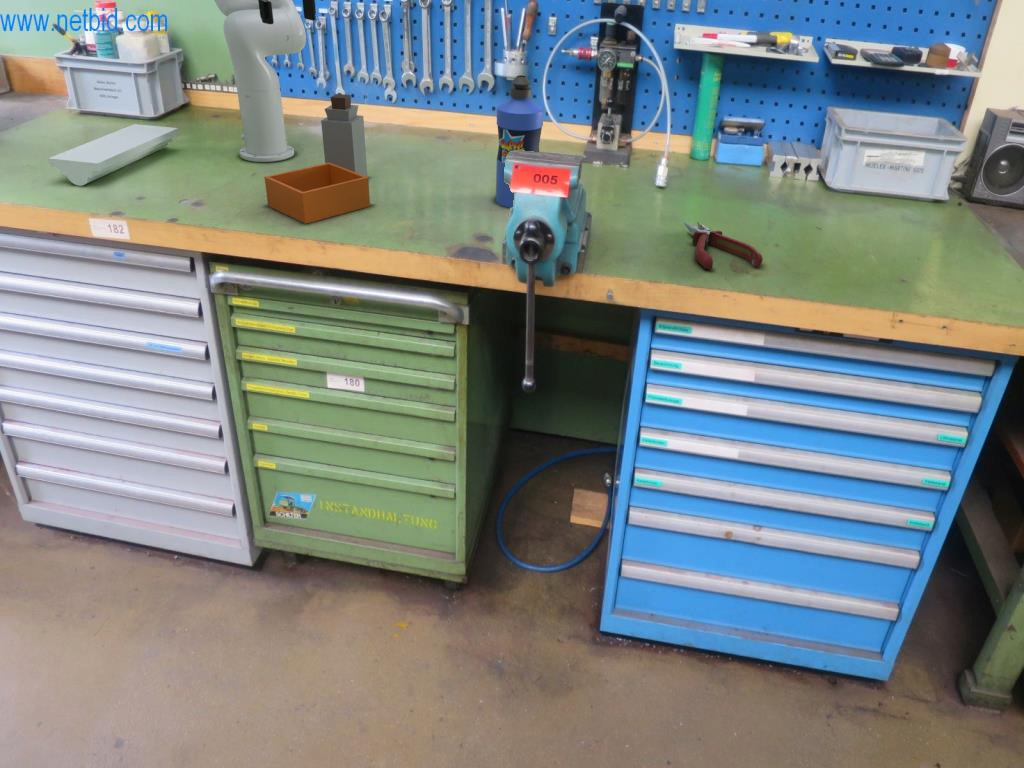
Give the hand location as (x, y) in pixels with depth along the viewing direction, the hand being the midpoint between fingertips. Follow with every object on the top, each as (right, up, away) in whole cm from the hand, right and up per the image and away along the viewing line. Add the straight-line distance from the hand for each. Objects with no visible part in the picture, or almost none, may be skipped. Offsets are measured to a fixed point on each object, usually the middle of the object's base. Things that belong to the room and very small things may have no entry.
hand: (289, 21), depth 157 cm
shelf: (-44, -23, +22) cm, 54 cm away
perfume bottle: (+8, -27, +18) cm, 34 cm away
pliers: (+83, -48, -10) cm, 96 cm away
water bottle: (+45, -34, +10) cm, 57 cm away
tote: (+5, -36, +3) cm, 37 cm away
